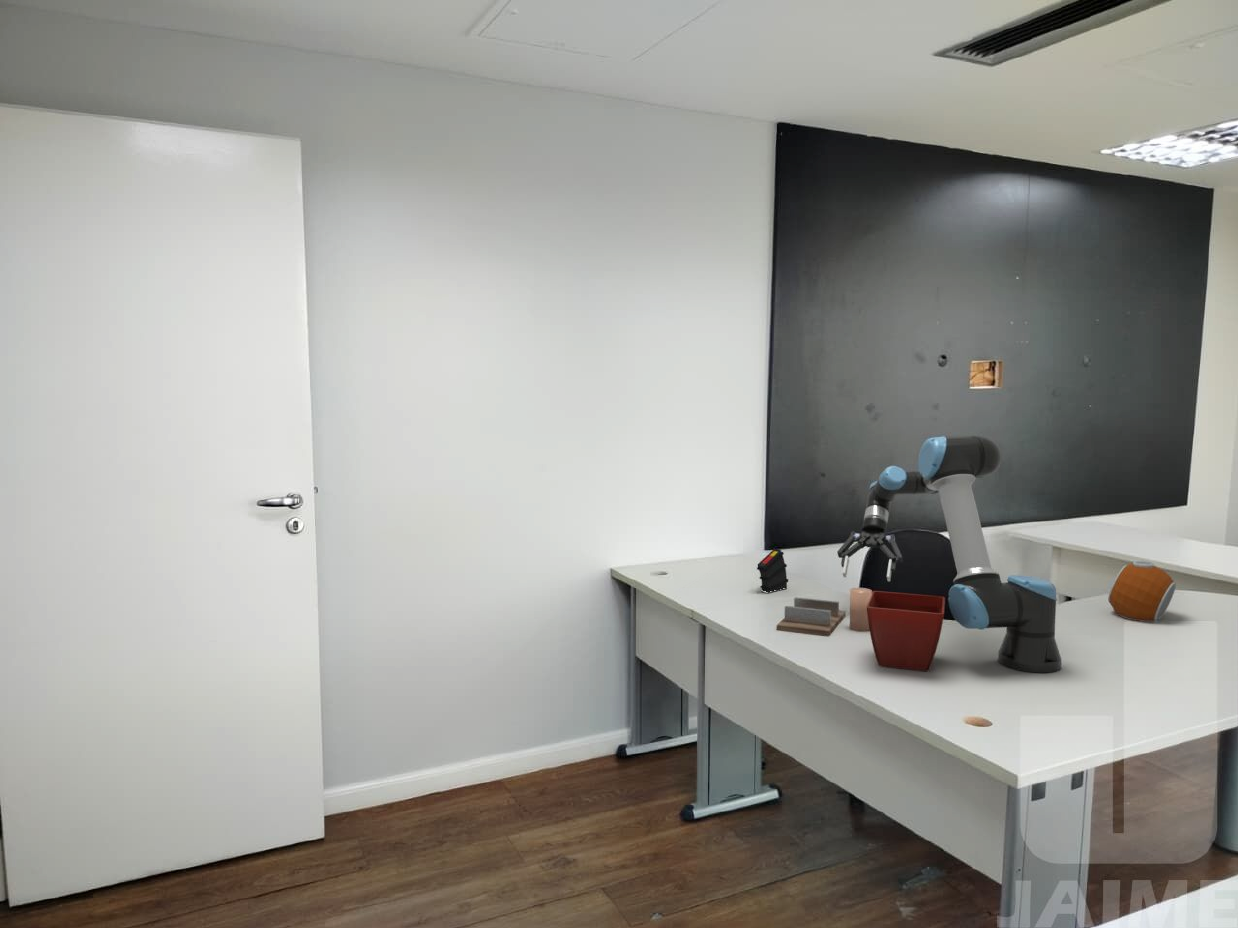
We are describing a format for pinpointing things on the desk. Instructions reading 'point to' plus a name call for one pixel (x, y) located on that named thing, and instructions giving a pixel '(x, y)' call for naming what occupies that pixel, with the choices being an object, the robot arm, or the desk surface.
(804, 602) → the rack
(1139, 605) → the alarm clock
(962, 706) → the desk surface
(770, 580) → the magazine
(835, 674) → the desk surface
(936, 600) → the plant pot
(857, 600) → the peach pillar candle
